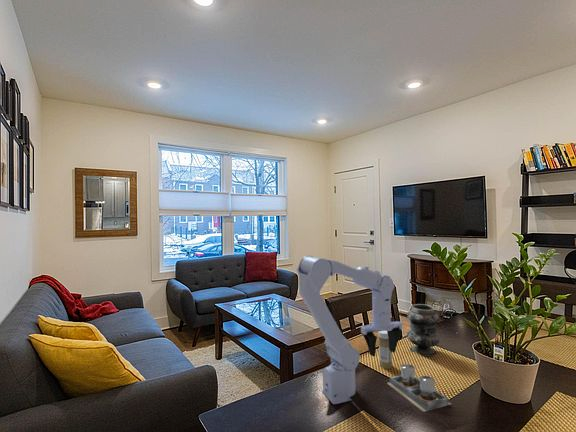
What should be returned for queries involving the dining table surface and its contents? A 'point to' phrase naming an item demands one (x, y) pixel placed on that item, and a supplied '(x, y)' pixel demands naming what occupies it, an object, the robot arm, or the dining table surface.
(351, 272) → the robot arm
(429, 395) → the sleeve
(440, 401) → the board
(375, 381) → the dining table surface
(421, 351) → the apothecary jar
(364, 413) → the dining table surface
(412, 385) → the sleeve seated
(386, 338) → the sprinkles bottle
